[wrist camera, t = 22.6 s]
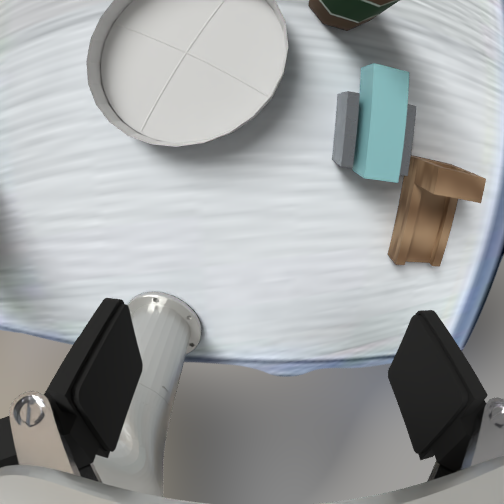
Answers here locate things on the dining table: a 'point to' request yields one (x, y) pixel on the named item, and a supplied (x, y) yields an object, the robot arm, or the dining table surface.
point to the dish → (186, 66)
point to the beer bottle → (348, 11)
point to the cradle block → (348, 131)
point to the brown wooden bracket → (430, 209)
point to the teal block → (381, 122)
